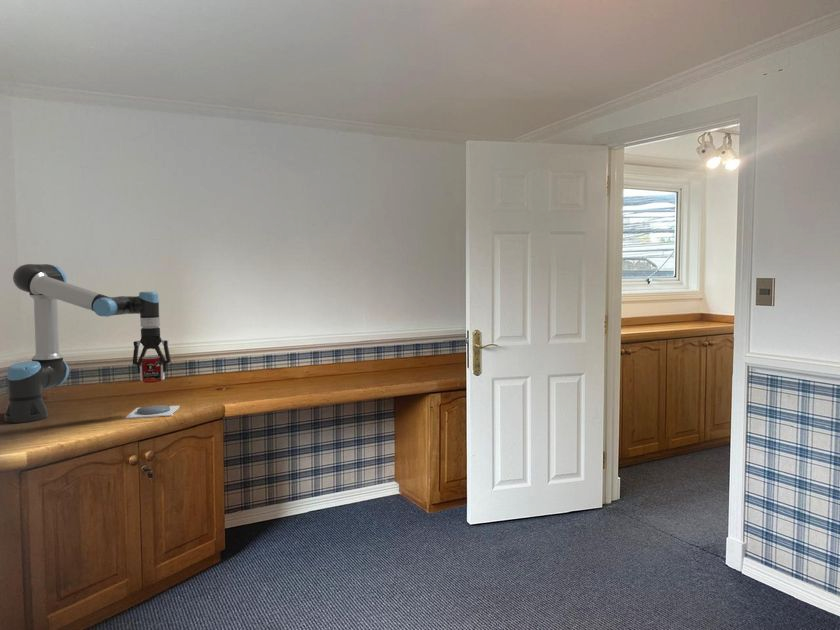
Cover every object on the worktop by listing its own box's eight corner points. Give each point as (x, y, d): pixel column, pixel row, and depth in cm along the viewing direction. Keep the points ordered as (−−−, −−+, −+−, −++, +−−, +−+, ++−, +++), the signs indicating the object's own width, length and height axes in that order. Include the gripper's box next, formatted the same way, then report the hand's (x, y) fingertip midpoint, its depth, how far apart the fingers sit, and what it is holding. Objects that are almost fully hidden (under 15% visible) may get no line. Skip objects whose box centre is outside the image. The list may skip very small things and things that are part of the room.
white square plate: (125, 418, 246) (125, 414, 246) (137, 409, 263) (136, 405, 263) (171, 416, 249) (171, 411, 249) (179, 406, 267) (179, 402, 267)
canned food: (141, 383, 250) (140, 357, 250) (144, 380, 258) (143, 355, 257) (160, 382, 252) (159, 356, 252) (163, 379, 260) (162, 354, 259)
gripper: (122, 328, 248) (124, 382, 250) (173, 327, 252) (176, 380, 254) (127, 327, 255) (129, 379, 257) (177, 325, 260) (179, 377, 261)
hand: (152, 379), depth 255 cm, fingers closed on canned food, 8 cm apart
